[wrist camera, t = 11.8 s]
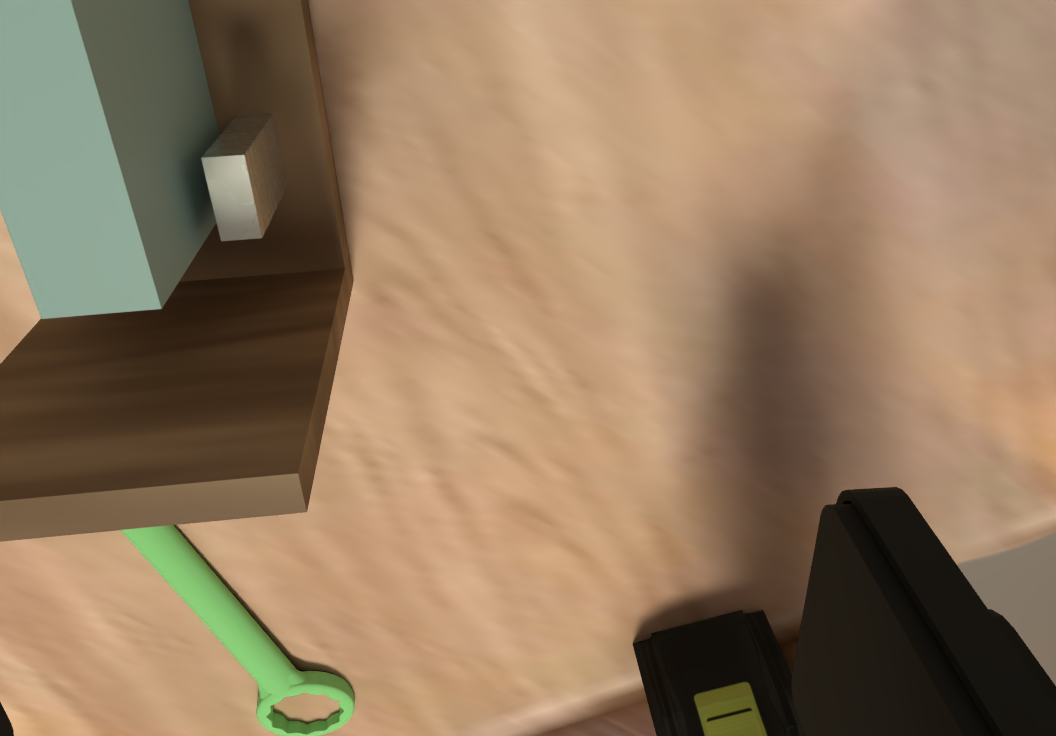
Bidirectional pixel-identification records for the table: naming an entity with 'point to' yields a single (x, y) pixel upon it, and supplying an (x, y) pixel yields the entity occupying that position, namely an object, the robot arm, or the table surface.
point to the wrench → (240, 633)
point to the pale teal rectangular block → (103, 150)
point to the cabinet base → (201, 325)
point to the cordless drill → (718, 679)
